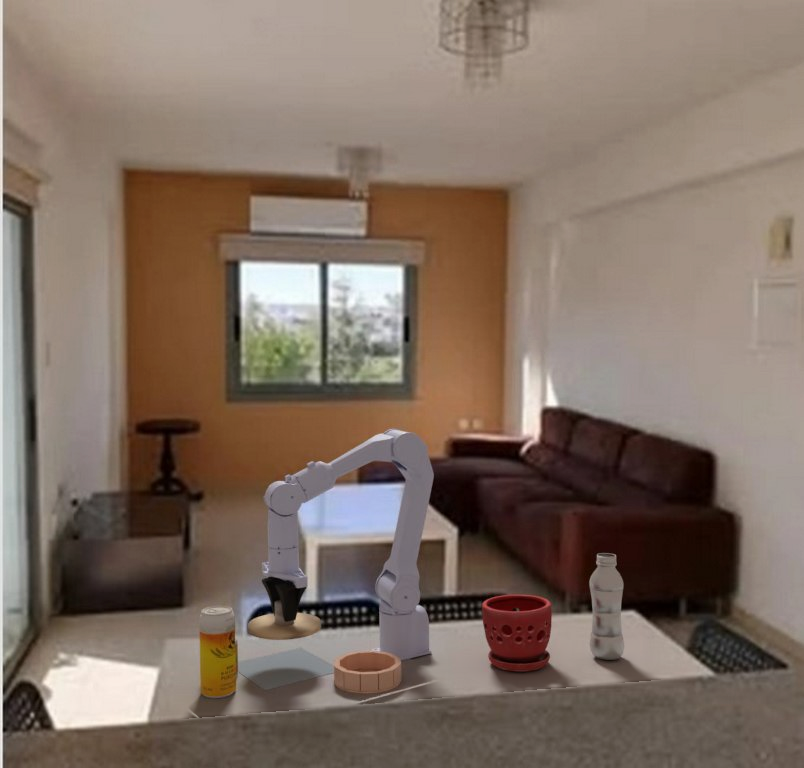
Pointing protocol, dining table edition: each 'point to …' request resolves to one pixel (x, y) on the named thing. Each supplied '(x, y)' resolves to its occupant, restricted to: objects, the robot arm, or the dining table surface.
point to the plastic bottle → (606, 609)
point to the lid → (283, 625)
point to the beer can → (217, 651)
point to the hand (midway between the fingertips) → (284, 617)
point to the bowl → (367, 671)
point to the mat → (284, 668)
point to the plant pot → (517, 631)
